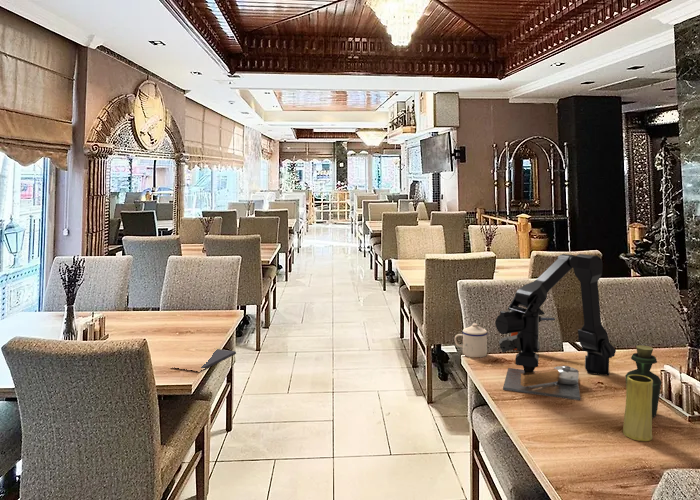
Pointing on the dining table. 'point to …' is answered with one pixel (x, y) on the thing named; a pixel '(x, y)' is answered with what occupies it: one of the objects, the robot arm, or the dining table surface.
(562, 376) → the wooden bar
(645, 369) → the potion bottle
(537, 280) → the robot arm
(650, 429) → the vase
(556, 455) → the dining table surface
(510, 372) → the chuck base plate
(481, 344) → the teacup with lid
